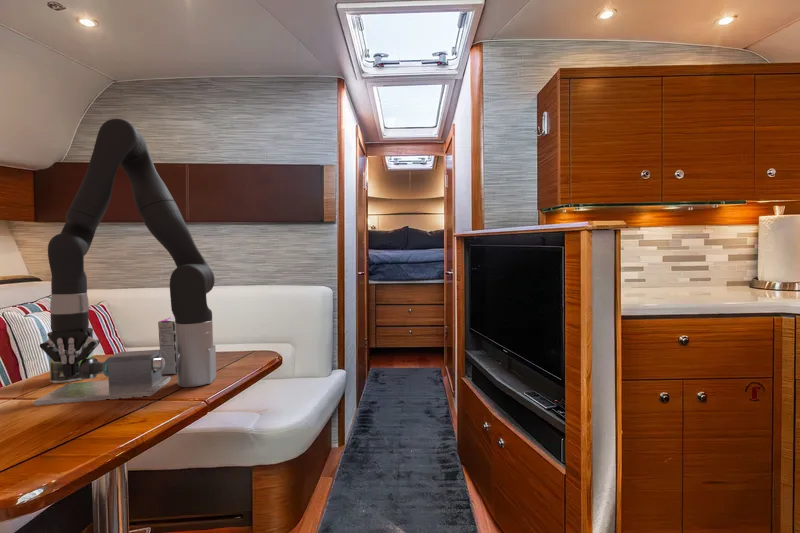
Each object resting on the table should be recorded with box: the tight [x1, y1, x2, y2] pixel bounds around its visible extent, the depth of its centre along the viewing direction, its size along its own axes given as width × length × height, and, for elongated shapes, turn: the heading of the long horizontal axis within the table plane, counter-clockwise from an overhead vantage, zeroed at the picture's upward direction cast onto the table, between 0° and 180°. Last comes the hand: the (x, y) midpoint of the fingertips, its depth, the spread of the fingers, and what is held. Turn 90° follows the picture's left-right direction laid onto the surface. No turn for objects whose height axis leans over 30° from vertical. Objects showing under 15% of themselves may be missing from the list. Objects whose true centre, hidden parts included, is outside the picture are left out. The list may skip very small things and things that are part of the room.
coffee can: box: [46, 327, 95, 384], centre depth 115 cm, size 10×10×14 cm
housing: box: [33, 349, 171, 406], centre depth 102 cm, size 26×13×10 cm, turn 101°
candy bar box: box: [157, 315, 177, 376], centre depth 121 cm, size 11×5×16 cm, turn 6°
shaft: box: [79, 357, 165, 380], centre depth 103 cm, size 18×5×5 cm, turn 101°
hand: (71, 377), depth 100 cm, fingers closed
